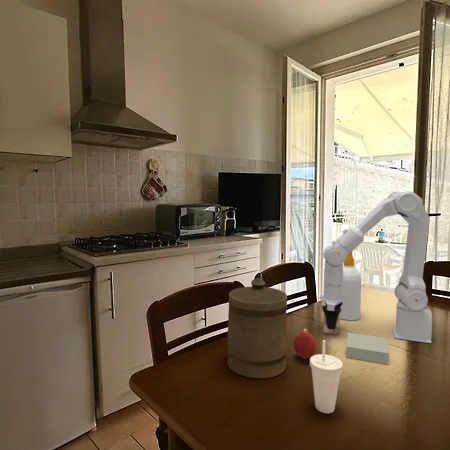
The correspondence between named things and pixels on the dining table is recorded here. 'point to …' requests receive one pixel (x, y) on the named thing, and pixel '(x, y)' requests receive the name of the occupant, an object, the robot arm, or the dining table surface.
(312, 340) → the onion
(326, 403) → the smoothie
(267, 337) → the wooden container
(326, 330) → the block
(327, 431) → the dining table surface
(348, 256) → the soap bottle
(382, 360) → the base
